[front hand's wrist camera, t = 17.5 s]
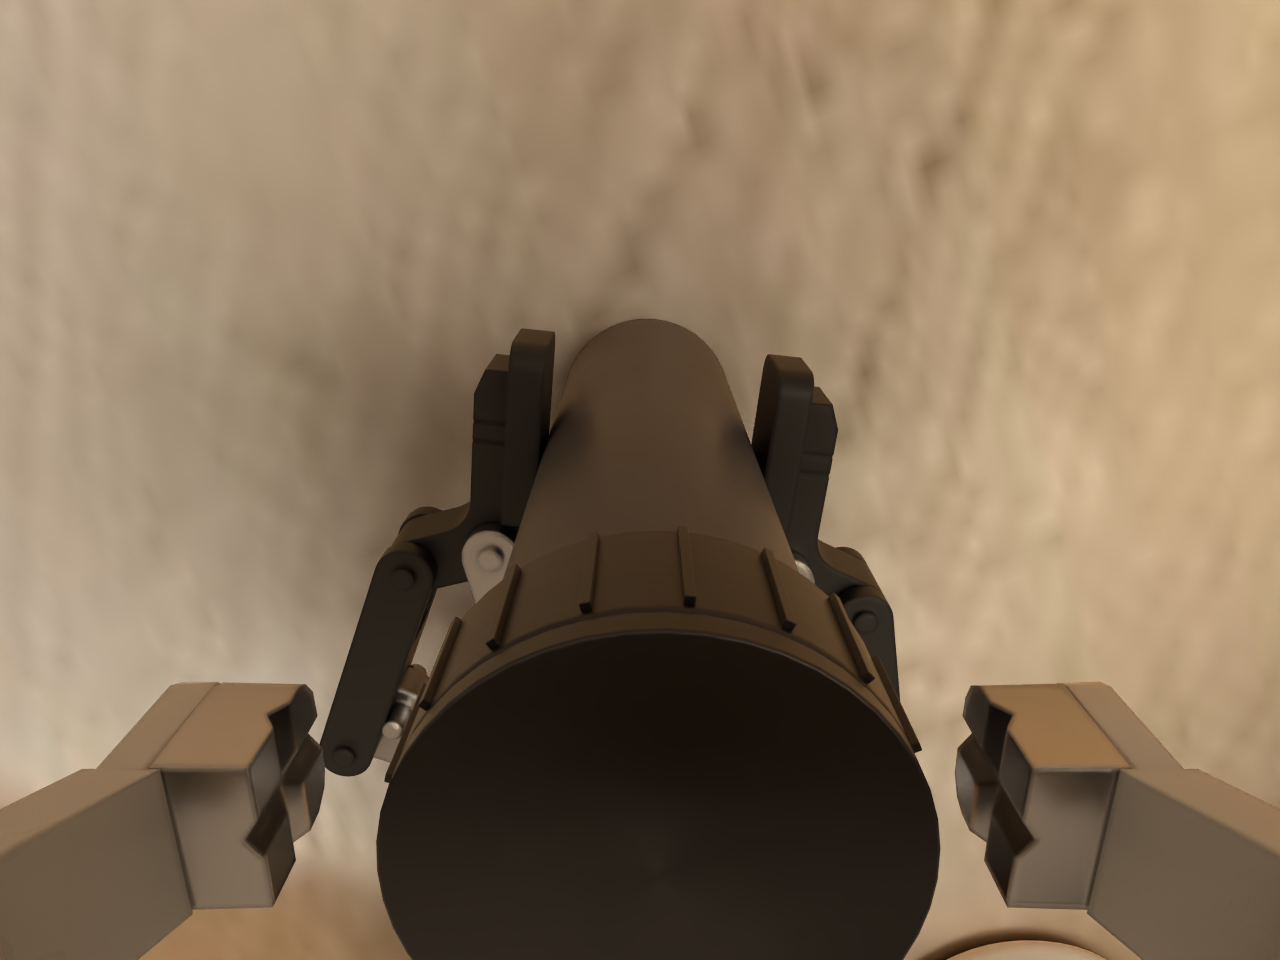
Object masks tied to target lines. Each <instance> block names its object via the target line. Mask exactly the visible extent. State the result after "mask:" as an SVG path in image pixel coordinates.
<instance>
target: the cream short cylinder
mask: <svg viewBox="0 0 1280 960" xmlns="http://www.w3.org/2000/svg"><path fill="white" fill-rule="evenodd" d="M947 960H1107V959H1105V958H1103V957H1101V956H1099V955H1097V954H1095V953H1093V952H1090V951H1088V950H1085V949H1082V948H1079V947H1076V946H1072V945H1068V944H1063V943H1058V942H1048V941H1028V940H1020V941H1008V942H1000V943H995V944H989V945H985V946H981V947H978V948H974V949H971V950H968V951H965V952H963V953H960V954H957V955H955V956H953V957H951V958H949V959H947Z"/></svg>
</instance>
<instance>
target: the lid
mask: <svg viewBox="0 0 1280 960" xmlns="http://www.w3.org/2000/svg"><path fill="white" fill-rule="evenodd" d="M921 750H922V748H921V746H920V743H919V741H918V739H917V737H916V735H915V732H914V730H913V728H912V726H911V724H910V722H909V720H908V718H907V716H906V713H905V711H904V709H903V707H902V705H901V703H900V701H899V699H898V696H897V694H896V692H895V690H894V688H893V686H892V684H891V682H890V679H889V677H888V675H887V673H886V671H885V669H884V667H883V665H882V662H881V660H880V658H879V656H878V655H876V656H874V657H870V655H869V652H868V650H867V648H866V646H865V644H864V642H863V640H862V639H861V637H860V636H859V634H858V632H857V631H856V629H855V628H854V626H853V625H852V623H851V621H850V620H849V618H848V616H847V613H846V611H845V609H844V607H843V604H842V602H841V600H840V598H839V597H838V596H837V595H836V594H835V593H833V594H832V595H831V596H828V595H826V594H825V593H824V592H823V591H822V590H821V589H819V588H818V587H817V586H816V585H815V584H814V583H813V582H811V581H810V580H809V579H808V578H806V577H805V576H803V575H802V574H800V573H799V572H797V571H795V570H794V569H792V568H791V567H789V566H788V565H786V564H785V563H783V562H781V561H779V560H777V559H775V556H774V553H773V551H772V550H770V549H767V548H765V547H764V549H763V550H762V552H760V551H758V550H756V549H753V548H750V547H747V546H745V545H741V544H738V543H735V542H732V541H729V540H726V539H722V538H717V537H712V536H707V535H702V534H697V533H692V532H688V527H683V526H678V530H677V531H665V530H652V531H630V532H622V533H616V534H610V535H604V536H599V534H598V532H593V533H589V534H588V539H587V540H584V541H580V542H577V543H574V544H570V545H567V546H564V547H561V548H559V549H557V550H555V551H552V552H550V553H548V554H545V555H543V556H541V557H539V558H536V559H534V560H533V561H531V562H529V563H528V564H526V565H524V566H523V567H521V568H520V567H519V566H518V564H517V563H516V564H514V565H513V566H511V567H510V568H509V570H508V573H507V576H506V578H504V579H503V580H502V581H501V582H499V583H498V584H497V585H496V586H494V587H493V588H492V589H491V590H489V591H488V592H487V593H486V594H485V595H484V596H483V597H482V598H481V599H480V600H479V601H478V602H477V603H476V604H475V605H474V606H473V607H472V608H471V609H470V611H469V612H468V613H467V614H466V615H465V616H464V618H463V619H462V620H461V619H459V618H457V617H455V619H454V620H453V621H452V623H451V625H450V627H449V630H448V632H447V635H446V637H445V640H444V642H443V645H442V647H441V650H440V652H439V655H438V657H437V660H436V662H435V665H434V667H433V670H432V672H431V675H430V677H429V680H428V682H427V684H426V683H423V685H422V687H421V689H420V692H419V694H418V697H417V699H416V702H415V704H414V707H413V709H412V711H411V714H410V716H409V719H408V721H407V724H406V726H405V729H404V731H403V733H402V736H401V738H400V741H399V743H398V746H397V748H396V751H395V753H394V755H393V758H392V760H391V763H390V765H389V768H388V770H387V773H386V776H385V782H387V783H389V786H388V789H387V793H386V796H385V799H384V802H383V805H382V808H381V812H380V819H379V826H378V833H377V840H376V845H377V872H378V877H379V882H380V887H381V892H382V897H383V901H384V904H385V907H386V910H387V912H388V915H389V918H390V920H391V923H392V926H393V928H394V930H395V932H396V934H397V935H398V937H399V939H400V941H401V943H402V945H403V946H404V948H405V950H406V952H407V953H408V955H409V956H410V957H411V959H412V960H903V959H904V957H905V956H906V954H907V953H908V951H909V949H910V948H911V946H912V944H913V943H914V941H915V940H916V938H917V936H918V935H919V933H920V930H921V928H922V926H923V923H924V921H925V919H926V916H927V914H928V912H929V909H930V907H931V903H932V899H933V895H934V891H935V887H936V883H937V879H938V869H939V857H940V838H939V826H938V817H937V813H936V809H935V805H934V801H933V798H932V794H931V790H930V787H929V785H928V783H927V781H926V778H925V776H924V774H923V772H922V769H921V767H920V765H919V762H918V760H917V758H916V756H915V754H914V753H916V752H919V751H921Z"/></svg>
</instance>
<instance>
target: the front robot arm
mask: <svg viewBox="0 0 1280 960" xmlns="http://www.w3.org/2000/svg"><path fill="white" fill-rule="evenodd" d="M963 717H964V719H965V721H966V723H967V725H968V726H969V728H970V730H971V732H972V734H971V735H970V736H969V737H968V738H967V739H966V740H965V741H964V742H963V743H962V744H961V745H960V746H959V747H958V750H957V759H956V768H955V778H956V790H957V798H958V801H959V805H960V808H961V812H962V815H963V817H964V819H965V821H966V823H967V826H968V828H969V830H970V831H971V832H973V833H974V834H976V835H977V836H978V837H980V838H981V839H983V840H984V841H985V842H987V846H986V852H985V858H984V861H985V863H986V865H987V867H988V869H989V871H990V873H991V875H992V877H993V879H994V881H995V883H996V885H997V887H998V889H999V891H1000V893H1001V895H1002V897H1003V899H1004V901H1005V903H1006V905H1007V907H1013V908H1048V909H1084V910H1088V911H1087V914H1089V915H1090V916H1091V917H1092V918H1093V919H1094V920H1096V921H1097V922H1098V923H1099V924H1100V925H1102V926H1103V927H1104V928H1105V929H1106V930H1108V931H1109V932H1110V933H1111V934H1112V935H1114V936H1115V937H1116V938H1117V939H1118V940H1119V941H1121V942H1122V943H1123V944H1124V945H1125V946H1127V947H1128V948H1129V949H1130V950H1131V951H1133V952H1134V953H1135V954H1136V955H1137V956H1139V957H1140V958H1141V959H1142V960H1280V809H1278V808H1276V807H1274V806H1272V805H1270V804H1268V803H1266V802H1264V801H1262V800H1260V799H1258V798H1256V797H1254V796H1252V795H1250V794H1247V793H1245V792H1243V791H1241V790H1239V789H1237V788H1235V787H1233V786H1231V785H1229V784H1227V783H1225V782H1223V781H1221V780H1219V779H1217V778H1215V777H1213V776H1211V775H1209V774H1207V773H1205V772H1203V771H1201V770H1199V769H1183V767H1182V766H1181V765H1180V764H1179V763H1178V762H1177V761H1176V760H1175V758H1174V757H1173V756H1172V755H1171V754H1170V753H1169V752H1168V751H1167V749H1166V748H1165V747H1164V746H1163V745H1162V744H1161V743H1160V742H1159V740H1158V739H1157V738H1156V737H1155V736H1154V735H1153V734H1152V733H1151V731H1150V730H1149V729H1148V728H1147V727H1146V726H1145V725H1144V724H1143V722H1142V721H1141V720H1140V719H1139V718H1138V717H1137V716H1136V715H1135V714H1134V712H1133V711H1132V710H1131V709H1130V708H1129V707H1128V706H1127V705H1126V703H1125V702H1124V701H1123V700H1122V699H1121V698H1120V697H1119V696H1118V694H1117V693H1116V692H1115V691H1114V690H1113V689H1112V688H1111V687H1110V686H1108V685H1106V684H1104V683H1101V682H1081V683H1057V684H1029V685H981V686H971V687H970V689H969V691H968V693H967V696H966V699H965V705H964V711H963ZM316 718H317V711H316V706H315V701H314V696H313V692H312V690H311V689H310V688H309V687H308V686H307V685H306V684H264V683H222V684H221V683H218V682H194V683H178V684H175V685H171V686H170V687H169V688H168V689H167V690H166V691H165V692H164V693H163V694H162V696H161V697H160V698H159V699H158V700H157V701H156V702H155V703H154V705H153V706H152V707H151V708H150V709H149V710H148V711H147V712H146V713H145V715H144V716H143V717H142V718H141V719H140V720H139V721H138V722H137V724H136V725H135V726H134V727H133V728H132V729H131V730H130V731H129V733H128V734H127V735H126V736H125V737H124V738H123V739H122V740H121V742H120V743H119V744H118V745H117V746H116V747H115V748H114V749H113V751H112V752H111V753H110V754H109V755H108V756H107V757H106V758H105V760H104V761H103V762H102V763H101V764H100V765H99V766H98V767H97V769H81V770H79V771H77V772H75V773H73V774H71V775H69V776H67V777H65V778H63V779H61V780H59V781H57V782H55V783H53V784H51V785H49V786H47V787H45V788H43V789H41V790H39V791H36V792H34V793H32V794H30V795H28V796H26V797H24V798H22V799H20V800H18V801H16V802H14V803H12V804H10V805H8V806H6V807H4V808H2V809H0V960H138V959H139V958H141V957H142V956H143V955H144V954H145V953H147V952H148V951H149V950H150V949H151V948H153V947H154V946H155V945H156V944H157V943H158V942H160V941H161V940H162V939H163V938H164V937H166V936H167V935H168V934H169V933H170V932H172V931H173V930H174V929H175V928H176V927H178V926H179V925H180V924H181V923H182V922H184V921H185V920H186V919H187V918H188V917H190V916H191V915H192V913H193V912H192V910H196V909H230V908H265V907H273V905H274V903H275V901H276V899H277V897H278V895H279V893H280V891H281V889H282V887H283V885H284V883H285V881H286V879H287V877H288V875H289V873H290V871H291V869H292V867H293V865H294V863H295V861H296V858H295V852H294V846H293V842H295V841H296V840H297V839H299V838H300V837H302V836H303V835H305V834H306V833H307V832H309V831H310V830H311V828H312V826H313V823H314V821H315V819H316V817H317V815H318V812H319V809H320V804H321V800H322V795H323V790H324V779H325V764H324V757H323V750H322V747H321V746H320V745H319V744H318V743H317V742H316V741H315V740H314V739H313V738H312V737H311V736H310V735H309V734H308V732H309V730H310V728H311V726H312V725H313V723H314V721H315V719H316Z"/></svg>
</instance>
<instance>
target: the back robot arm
mask: <svg viewBox="0 0 1280 960" xmlns="http://www.w3.org/2000/svg"><path fill="white" fill-rule="evenodd" d="M554 351H555V332H551V331H541V330H531V329H521V330H520V331H519V333H518V334H517V336H516V337H515V339H514V340H513V342H512V346H511V351H510V355H501V354H496V355H495V357H494V358H493V360H492V361H491V362H490V364H489V365H488V367H487V368H486V369H485V371H484V374H483V376H482V378H481V380H480V382H479V384H478V386H477V389H476V391H475V393H474V415H473V419H474V423H473V443H472V471H471V499H470V502H468V503H467V504H465V505H463V506H460V507H457V508H452V509H448V510H444V511H442V510H440V509H437V508H434V507H421V508H418V509H416V510H414V511H412V512H411V513H410V514H409V515H408V517H407V518H406V520H405V521H404V523H403V524H402V526H401V528H400V531H399V534H398V536H397V538H396V539H395V541H394V543H393V544H392V546H391V547H389V548H388V549H387V550H386V551H385V553H384V554H383V556H382V557H381V559H380V560H379V562H378V564H377V566H376V568H375V571H374V574H373V578H372V581H371V584H370V587H369V590H368V593H367V596H366V600H365V603H364V606H363V609H362V612H361V615H360V619H359V622H358V625H357V628H356V631H355V634H354V637H353V641H352V644H351V647H350V650H349V653H348V656H347V660H346V663H345V666H344V669H343V672H342V675H341V678H340V682H339V685H338V688H337V691H336V694H335V697H334V701H333V704H332V707H331V710H330V713H329V716H328V719H327V723H326V726H325V729H324V732H323V735H322V738H321V742H320V746H321V747H322V750H323V757H324V764H325V767H326V768H327V769H328V770H329V771H331V772H333V773H335V774H337V775H341V776H355V775H359V774H361V773H363V772H364V771H365V770H366V769H367V768H368V767H369V766H370V764H371V761H372V759H373V757H375V758H378V759H381V760H384V761H387V762H391V760H392V758H393V755H394V753H395V751H396V748H397V746H398V743H399V741H400V738H401V736H402V733H403V731H404V729H405V726H406V724H407V721H408V719H409V716H410V714H411V711H412V709H413V707H414V704H415V702H416V699H417V697H418V694H419V692H420V689H421V687H422V685H423V683H426V684H427V682H428V680H429V677H428V676H427V673H426V670H425V668H424V667H422V666H421V665H418V664H414V665H411V663H412V660H413V657H414V654H415V651H416V648H417V645H418V643H419V640H420V637H421V634H422V631H423V628H424V625H425V622H426V620H427V617H428V614H429V611H430V608H431V605H432V602H433V599H434V597H435V594H436V591H437V588H441V587H445V586H450V585H454V584H458V583H463V582H467V581H468V582H469V585H470V588H471V591H472V594H473V598H474V601H475V604H476V603H477V602H478V601H479V600H480V599H481V598H482V597H483V596H484V595H485V594H486V593H487V592H488V591H489V590H491V589H492V588H493V587H494V586H496V585H497V584H498V583H499V582H501V581H502V580H503V577H504V574H505V571H506V568H507V565H508V561H509V558H510V555H511V552H512V549H513V546H514V543H515V540H516V537H517V534H518V530H519V527H520V524H521V521H522V518H523V515H524V512H525V509H526V506H527V502H528V499H529V496H530V493H531V490H532V487H533V484H534V481H535V478H536V475H537V471H538V468H539V465H540V462H541V459H542V456H543V453H544V450H545V447H546V443H547V440H548V437H549V425H550V411H551V396H552V381H553V366H554ZM837 433H838V428H837V423H836V418H835V414H834V409H833V405H832V403H831V402H830V401H829V399H828V398H827V397H826V396H825V394H824V393H823V392H822V390H821V389H820V388H819V387H814V377H813V373H812V371H811V370H810V369H809V367H808V366H807V365H806V363H805V362H804V361H803V360H802V358H799V357H789V356H780V355H770V354H768V355H767V357H766V359H765V363H764V367H763V373H762V380H761V386H760V393H759V399H758V406H757V412H756V418H755V425H754V431H753V438H752V444H751V446H752V448H753V451H754V454H755V456H756V459H757V462H758V464H759V467H760V470H761V472H762V475H763V478H764V480H765V483H766V486H767V488H768V491H769V494H770V496H771V499H772V502H773V504H774V507H775V510H776V512H777V515H778V518H779V520H780V523H781V526H782V528H783V531H784V534H785V536H786V539H787V541H788V544H789V547H790V549H791V552H792V555H793V557H794V560H795V563H796V565H797V568H798V571H799V573H800V574H802V575H803V576H805V577H806V578H808V579H809V580H810V581H811V582H813V583H814V584H815V585H816V586H817V587H818V588H819V589H821V590H822V591H823V592H824V593H825V594H826V595H828V596H831V595H832V594H833V593H835V594H836V595H837V596H838V597H839V598H840V600H841V602H842V604H843V607H844V609H845V611H846V613H847V616H848V618H849V620H850V621H851V623H852V625H853V626H854V628H855V629H856V631H857V632H858V634H859V636H860V637H861V639H862V640H863V642H864V644H865V646H866V648H867V650H868V652H869V655H870V657H874V656H876V655H878V656H879V658H880V660H881V662H882V665H883V667H884V669H885V671H886V673H887V675H888V677H889V679H890V682H891V684H892V686H893V688H894V690H895V692H896V694H897V696H898V699H899V701H900V694H899V682H898V669H897V657H896V644H895V632H894V620H893V612H892V610H891V608H890V606H889V604H888V602H887V600H886V598H885V597H884V595H883V593H882V591H881V589H880V588H879V586H878V584H877V582H876V580H875V578H874V577H873V575H872V573H871V571H870V569H869V567H868V566H867V564H866V562H865V560H864V558H863V557H862V555H861V554H860V553H859V552H857V551H856V550H854V549H852V548H848V547H837V548H834V547H832V546H830V545H828V544H826V543H824V542H822V541H820V540H818V533H819V527H820V522H821V517H822V512H823V506H824V501H825V496H826V491H827V485H828V480H829V474H830V469H831V464H832V456H833V454H834V448H835V443H836V438H837Z"/></svg>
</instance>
